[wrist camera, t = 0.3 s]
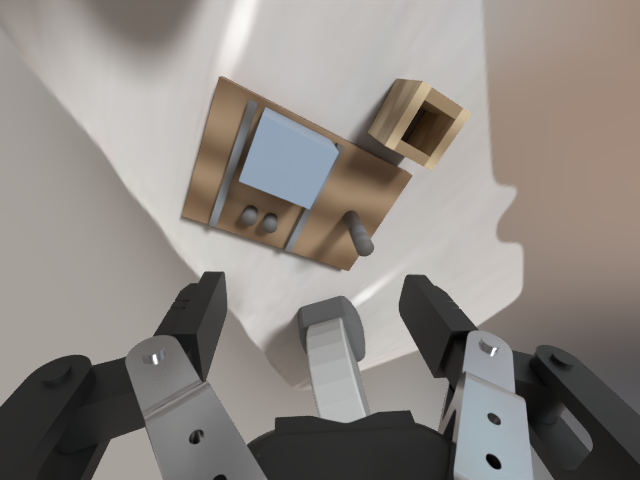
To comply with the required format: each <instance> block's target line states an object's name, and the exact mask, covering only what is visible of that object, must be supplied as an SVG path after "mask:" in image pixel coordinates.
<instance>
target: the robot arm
mask: <svg viewBox="0 0 640 480" xmlns="http://www.w3.org/2000/svg"><path fill="white" fill-rule="evenodd" d="M399 312H400V316H401V318H402V319H403V321H404V323H405V325H406V327H407V329H408V330H409V332H410V334H411V336H412V338H413V340H414V341H415V343H416V345H417V347H418V349H419V351H420V353H421V354H422V356H423V358H424V360H425V362H426V364H427V365H428V367H429V369H430V371H431V373H432V375H433V376H434V378H446V377H447V379H448V381H449V383H448V385H447V388H446V393H445V398H444V403H443V408H442V413H441V418H440V423H439V427H438V431H435V430H434V429H431V428H429V427H427V426H425V425H422V424H418V423H415V422H414V419H413V416H412V414H411V412H410V410H408V411H391V412H377V413H375V414H372V415H369V416H366V417H363V418H361V419H358V420H355V421H352V422H349V423H342V422H337V421H332V420H328V419H323V418H318V417H314V416H295V417H277V418H275V430H273V431H270V432H267V433H265V434H263V435H261V436H259V437H257V438H256V439H254V440H253V441H251V442H250V443H249V444H247V445H246V443H245V442H244V440H243V438H242V437H241V435H240V433H239V432H238V430H237V428H236V427H235V425H234V423H233V422H232V420H231V418H230V417H229V415H228V413H227V412H226V410H225V408H224V407H223V405H222V403H221V402H220V400H219V399H218V397H217V395H216V394H215V392H214V390H213V389H212V387H211V385H210V384H209V382H208V381H206V378H207V375H208V372H209V369H210V366H211V362H212V359H213V356H214V353H215V350H216V346H217V343H218V340H219V336H220V333H221V330H222V327H223V324H224V321H225V317H226V313H227V293H226V281H225V273H224V272H204V274H203V275H202V277H201V279H200V281H199V283H190V284H189V285H188V286H186V287H185V288H184V289H183V290H181V291H180V293H179V294H178V296H177V298H176V299H175V302H174V303H173V304H172V306H171V308H170V310H169V311H168V312H167V314H166V316H165V317H164V319H163V321H162V322H161V324H160V326H159V327H158V329H157V331H156V332H155V334H154V335H153V337H151V338H148V339H145V340H143V341H142V342H140V343H138V344H137V345H135V346H134V347H133V348H132V349H131V350H130V351H129V353H128V354H127V356H126V357H124V358H121V359H117V360H113V361H109V362H105V363H101V364H97V365H93V366H92V364H91V361H90V360H89V358H87V357H86V356H83V355H70V356H65V357H61V358H58V359H55V360H53V361H51V362H49V363H47V364H45V365H43V366H42V367H40V368H38V369H37V370H35V371H34V372H33V373H32V374H30V375H29V376H28V377H27V379H25V380H24V382H23V383H22V384H21V385H20V386H19V387H18V388H17V389H16V390H15V391H14V393H13V394H12V395H11V396H10V397H9V398H8V399H7V400H6V401H5V403H4V404H3V405H2V406H1V407H0V480H91V479H92V477H93V475H94V472H95V471H96V468H97V466H98V464H99V462H100V460H101V458H102V456H103V454H104V452H105V450H106V448H107V446H108V444H109V442H110V440H111V439H112V438H115V437H118V436H120V435H124V434H126V433H129V432H132V431H135V430H138V429H141V428H143V427H145V428H146V431H147V433H148V437H149V440H150V443H151V445H152V448H153V452H154V455H155V457H156V460H157V463H158V466H159V469H160V472H161V475H162V478H163V480H533V471H532V461H531V451H530V444H531V445H532V447H533V448H534V450H535V451H536V453H537V454H538V456H539V457H540V459H541V460H542V462H543V463H544V465H545V466H546V468H547V469H548V470H549V472H550V474H551V475H552V477H553V478H554V479H555V480H640V415H639V414H638V413H636V412H635V411H634V410H633V409H632V408H631V407H630V406H629V405H628V404H627V403H625V402H624V401H623V400H622V399H621V398H620V397H619V396H618V395H617V394H616V393H614V392H613V391H612V390H611V389H610V388H609V387H608V386H607V385H606V384H605V383H604V382H602V381H601V380H600V379H599V378H598V377H597V376H596V375H595V374H594V373H593V372H591V371H590V370H589V369H588V368H587V367H586V366H585V365H584V364H583V363H581V362H580V361H579V360H578V359H577V358H575V357H574V356H573V355H571V354H569V353H568V352H565V351H564V350H562V349H559V348H556V347H553V346H548V345H541V346H538V347H537V348H536V350H535V352H534V354H533V355H530V354H525V353H521V352H517V351H512V350H511V349H510V347H509V346H508V345H507V344H506V343H505V342H504V341H503V340H502V339H500V338H499V337H497V336H495V335H493V334H491V333H488V332H485V331H479V330H478V329H477V327H476V326H475V325H474V324H473V323H472V322H471V321H470V319H469V318H468V317H467V316H466V315H465V314H464V312H463V311H462V310H461V309H459V307H458V306H457V304H456V303H455V302H453V300H452V299H451V297H450V296H449V295H448V294H447V293H446V292H445V291H443V290H442V289H440V288H439V287H437V286H434V285H433V284H432V283H431V281H430V280H429V279H428V278H427V277H426V276H425V275H407V276H406V277H405V280H404V284H403V288H402V292H401V296H400V300H399ZM566 407H567V408H568V410H569V411H570V412H571V413H572V414H573V415H574V416H575V418H576V419H577V420H578V421H579V422H580V423H581V424H582V426H583V427H584V428H585V429H586V430H587V431H588V433H589V435H590V437H591V439H592V442H593V449H592V451H591V452H590V451H589V450H588V449H587V448H586V447H585V445H584V444H583V443H582V442H581V441H580V439H579V438H578V437H577V436H576V435H575V433H574V432H573V431H572V430H571V429H570V427H569V426H568V425H567V424H566V423H565V421H564V420H563V419H562V418H561V417H560V416H561V414H562V413H563V411H564V410H565V409H566Z"/></svg>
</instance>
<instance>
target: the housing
mask: <svg viewBox="0 0 640 480" xmlns="http://www.w3.org/2000/svg"><path fill="white" fill-rule="evenodd" d="M338 153H339V152H338V150H337V149H336V147H335V146H334V144H333V143H332V141H331V140H330V139H328V138H326V137H324V136H322V135H320V134H318V133H316V132H314V131H312V130H310V129H308V128H306V127H304V126H302V125H300V124H298V123H296V122H294V121H293V120H291V119H289V118H287V117H285V116H283V115H281V114H279V113H277V112H275V111H273V110H271V109H269V108H267V107H265V110H264V112H263V114H262V117H261V119H260V122H259V125H258V128H257V131H256V134H255V136H254V139H253V142H252V145H251V148H250V150H249V153H248V156H247V159H246V162H245V165H244V167H243V170H242V173H241V176H240V179H239V182H242V183H244V184H247V185H249V186H252V187H254V188H257V189H259V190H262V191H264V192H267V193H269V194H272V195H275V196H277V197H280V198H282V199H285V200H287V201H290V202H292V203H295V204H297V205H300V206H302V207H305V208H307V209H310V208H311V206H312V204H313V202H314V200H315V198H316V196H317V194H318V192H319V190H320V188H321V186H322V185H323V183H324V181H325V179H326V177H327V175H328V173H329V171H330V169H331V167H332V165H333V163H334V161H335V159H336V157H337V155H338Z"/></svg>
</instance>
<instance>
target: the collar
mask: <svg viewBox="0 0 640 480" xmlns="http://www.w3.org/2000/svg"><path fill="white" fill-rule="evenodd" d="M420 107H421V108H422V109H424V110H426V111H425V113H424V114H423V116H422V117H421V119H420V121H419V122H418V124H417V125H416V127H415V129H414V130H413V132H412V134H411V135H410V137H409V138H408V140H407V142H405V141H403V140H401V138H402V136H403V134H404V133H405V131H406V129H407V128H408V126H409V124H410V123H411V121H412V119H413V118H414V116H415V115H416V113H417V111H418V110H419V108H420ZM470 115H471V113H470V112H468V111H467V110H465V109H464V108H462V107H461V106H459V105H458V104H456V103H455V102H453V101H452V100H450V99H449V98H447V97H446V96H444V95H443V94H441V93H440V92H438V91H437V90H435V89H434V88H432V87H431V86H429V85H428V84H426V83H425V82H423V81H416V80H406V79H396V81H395V83H394V85H393V86H392V88H391V90H390V92H389V94H388V96H387V97H386V99H385V101H384V103H383V105H382V107H381V108H380V110H379V112H378V114H377V116H376V118H375V120H374V121H373V123H372V125H371V127H370V129H369V131H368V133H369V134H370V135H372V136H373V137H374V138H376V139H377V140H378V141H379V142H381V143H382V144H383V145H385V146H387V147H388V148H390V149H392V150H394V151H396V152H398V153H400V154H401V155H403V156H405V157H407V158H409V159H411V160H413V161H415V162H416V163H418V164H420V165H422V166H424V167H426V168H428V169H429V170H431V171H432V170H433V168H434V167H435V165H436V164H437V163H438V161H439V160H440V158H441V157H442V155H443V154H444V152H445V151H446V150H447V148H448V147H449V145H450V144H451V142H452V141H453V140H454V138H455V137H456V135H457V134H458V132H459V131H460V130H461V128H462V127H463V125H464V124H465V122H466V121H467V119H468V118H469V117H470Z"/></svg>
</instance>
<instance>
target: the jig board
mask: <svg viewBox="0 0 640 480" xmlns="http://www.w3.org/2000/svg"><path fill="white" fill-rule="evenodd" d="M265 107H267V108H269V109H271V110H273V111H275V112H277V113H279V114H281V115H283V116H285V117H287V118H289V119H291V120H293V121H294V122H296V123H298V124H300V125H302V126H304V127H306V128H308V129H310V130H312V131H314V132H316V133H318V134H320V135H322V136H324V137H326V138H328V139H330V140H331V141H332V143H333V144H334V146H335V147H336V149H337V150H338V152H339V153H338V155H337V157H336V159H335V161H334V163H333V165H332V167H331V169H330V171H329V173H328V175H327V177H326V179H325V181H324V183H323V185H322V186H321V188H320V190H319V192H318V194H317V196H316V198H315V200H314V202H313V204H312V206H311V208H310V209H307V208H305V207H302V206H300V205H297V204H295V203H292V202H290V201H287V200H285V199H282V198H280V197H277V196H275V195H272V194H269V193H267V192H264V191H262V190H259V189H257V188H254V187H252V186H249V185H247V184H244V183H242V182H239V179H240V176H241V173H242V170H243V167H244V165H245V162H246V159H247V156H248V153H249V150H250V148H251V145H252V142H253V139H254V136H255V134H256V131H257V128H258V125H259V122H260V119H261V117H262V114H263V112H264V110H265ZM411 177H412V175H411V174H410V173H409V172H407V171H405V170H403V169H401V168H400V167H398V166H396V165H394V164H392V163H390V162H388V161H386V160H384V159H382V158H380V157H378V156H376V155H374V154H372V153H370V152H368V151H366V150H365V149H363V148H361V147H359V146H357V145H355V144H353V143H351V142H349V141H347V140H345V139H343V138H341V137H339V136H337V135H335V134H333V133H332V132H330V131H328V130H326V129H324V128H322V127H320V126H318V125H316V124H314V123H312V122H310V121H308V120H306V119H304V118H302V117H300V116H299V115H297V114H295V113H293V112H291V111H289V110H287V109H285V108H283V107H281V106H279V105H277V104H275V103H273V102H271V101H269V100H267V99H266V98H264V97H262V96H260V95H258V94H256V93H254V92H252V91H250V90H248V89H246V88H244V87H242V86H240V85H238V84H236V83H234V82H233V81H231V80H229V79H227V78H225V77H223V76H221V77H219V80H218V83H217V87H216V91H215V95H214V98H213V102H212V106H211V109H210V113H209V117H208V121H207V124H206V128H205V132H204V136H203V139H202V143H201V147H200V151H199V154H198V158H197V162H196V165H195V169H194V173H193V177H192V180H191V184H190V188H189V192H188V195H187V199H186V203H185V207H184V210H183V214H182V216H184V217H187V218H190V219H193V220H196V221H199V222H202V223H205V224H208V226H211V227H214V228H216V227H217V228H220V229H223V230H226V231H229V232H232V233H235V234H238V235H241V236H244V237H247V238H250V239H253V240H256V241H259V242H262V243H265V244H268V245H271V246H274V247H277V248H280V249H283V250H284V251H287V252H290V253H291V252H292V253H295V254H298V255H301V256H304V257H307V258H310V259H313V260H316V261H319V262H322V263H325V264H328V265H331V266H334V267H337V268H340V269H343V270H346V271H349V270H350V268H351V267H352V265H353V264H354V262H355V261H356V260H357V258H358V257H359V255H360V256H368V255H370V254H371V253H372V252H373V250H374V245H373V243H372V241H371V240H370V239H371V237H372V236H373V234H374V233H375V231H376V230H377V228H378V227H379V225H380V224H381V222H382V221H383V219H384V218H385V216H386V215H387V213H388V212H389V210H390V209H391V207H392V206H393V204H394V203H395V201H396V200H397V198H398V197H399V195H400V194H401V192H402V191H403V189H404V188H405V186H406V185H407V183H408V182H409V180H410V179H411Z"/></svg>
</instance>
